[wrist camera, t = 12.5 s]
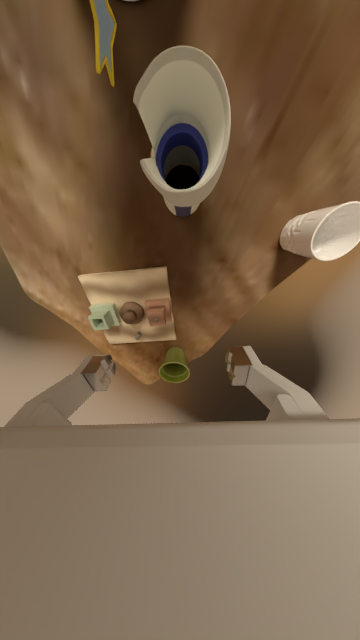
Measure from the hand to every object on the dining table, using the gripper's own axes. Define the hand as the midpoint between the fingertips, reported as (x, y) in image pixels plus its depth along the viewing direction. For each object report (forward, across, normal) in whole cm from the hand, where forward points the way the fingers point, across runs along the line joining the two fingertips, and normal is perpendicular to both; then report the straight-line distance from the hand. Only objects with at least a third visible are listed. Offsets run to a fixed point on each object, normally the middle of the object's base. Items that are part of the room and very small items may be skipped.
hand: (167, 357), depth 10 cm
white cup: (+29, -26, -5) cm, 39 cm away
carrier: (+29, +14, +10) cm, 34 cm away
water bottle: (+29, -2, -14) cm, 33 cm away
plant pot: (+29, +4, +28) cm, 41 cm away
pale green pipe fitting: (+28, +21, +10) cm, 36 cm away
